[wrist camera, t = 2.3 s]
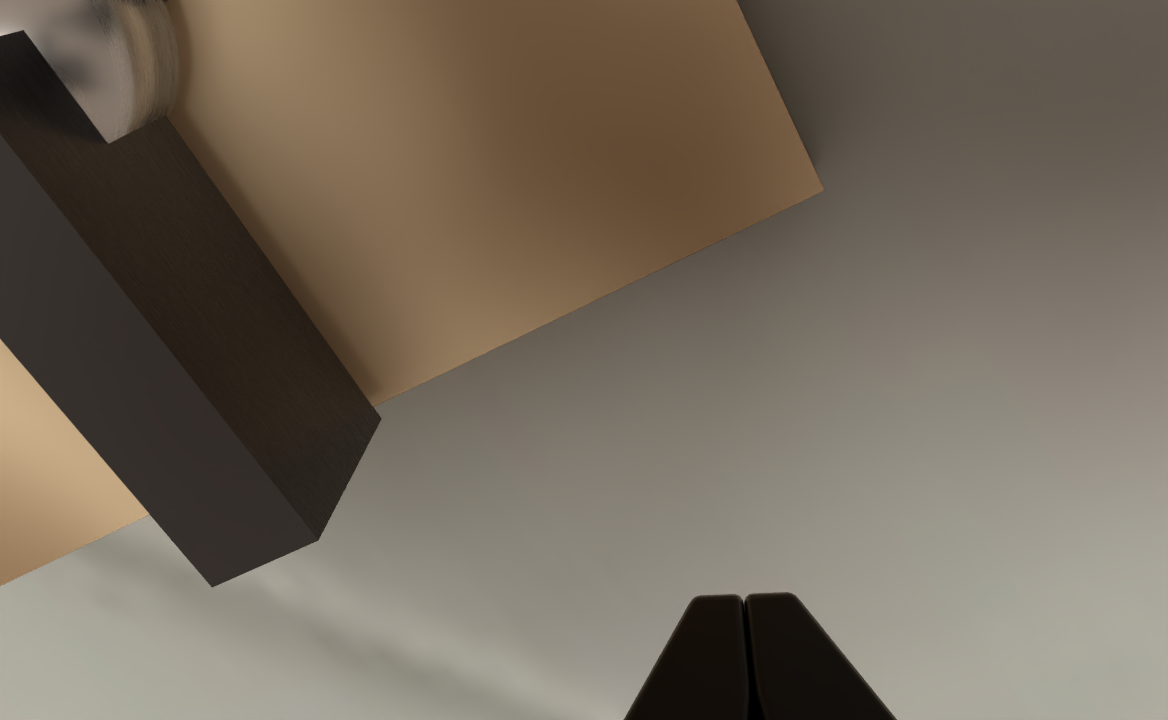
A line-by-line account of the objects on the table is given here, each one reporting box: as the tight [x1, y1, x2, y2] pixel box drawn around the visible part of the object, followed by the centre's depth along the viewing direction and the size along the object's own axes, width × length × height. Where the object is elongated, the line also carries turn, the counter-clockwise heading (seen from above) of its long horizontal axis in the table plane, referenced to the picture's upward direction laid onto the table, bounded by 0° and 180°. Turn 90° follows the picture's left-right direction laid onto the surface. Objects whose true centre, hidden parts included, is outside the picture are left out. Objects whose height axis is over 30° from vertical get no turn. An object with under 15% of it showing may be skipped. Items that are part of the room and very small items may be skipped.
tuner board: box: [0, 0, 824, 586], centre depth 15 cm, size 17×14×1 cm
